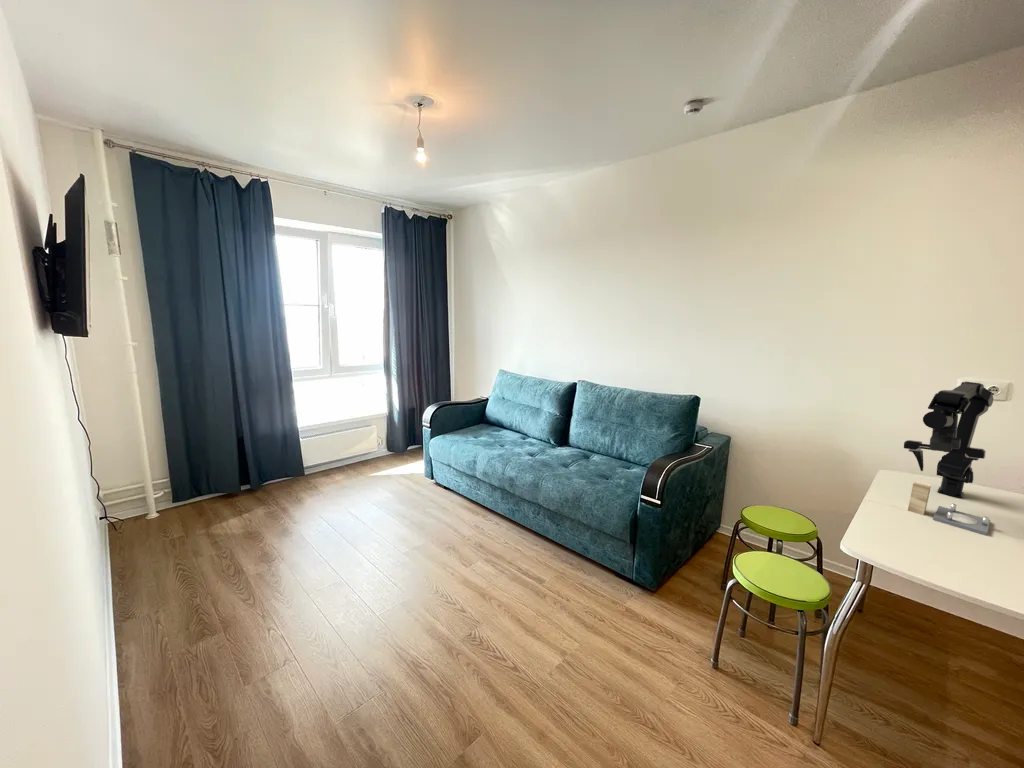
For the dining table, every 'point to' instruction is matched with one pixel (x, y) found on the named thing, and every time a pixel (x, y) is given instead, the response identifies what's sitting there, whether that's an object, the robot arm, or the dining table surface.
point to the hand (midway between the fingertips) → (940, 474)
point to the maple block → (919, 497)
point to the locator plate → (962, 519)
